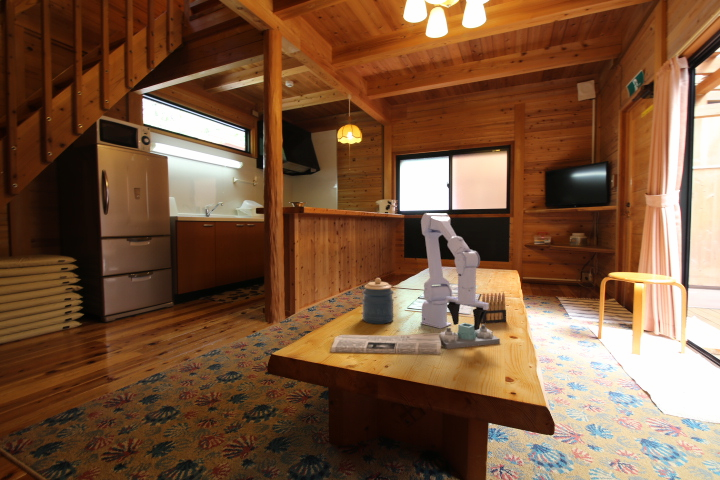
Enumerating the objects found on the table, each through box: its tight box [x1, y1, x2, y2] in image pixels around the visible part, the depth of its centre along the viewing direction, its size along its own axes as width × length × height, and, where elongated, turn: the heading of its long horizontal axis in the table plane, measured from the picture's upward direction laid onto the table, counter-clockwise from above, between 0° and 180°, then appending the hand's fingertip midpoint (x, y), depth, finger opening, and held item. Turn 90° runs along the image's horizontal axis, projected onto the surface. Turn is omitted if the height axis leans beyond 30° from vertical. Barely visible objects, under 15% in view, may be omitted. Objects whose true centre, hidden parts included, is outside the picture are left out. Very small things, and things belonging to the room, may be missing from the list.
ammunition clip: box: [480, 291, 507, 325], centre depth 132 cm, size 11×2×12 cm, turn 101°
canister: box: [361, 277, 395, 325], centre depth 136 cm, size 13×13×18 cm
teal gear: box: [457, 322, 476, 340], centre depth 111 cm, size 6×6×4 cm
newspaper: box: [330, 332, 442, 355], centre depth 107 cm, size 35×12×4 cm, turn 87°
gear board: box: [438, 324, 501, 350], centre depth 111 cm, size 20×9×5 cm, turn 104°
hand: (466, 326), depth 111 cm, fingers open, 7 cm apart
